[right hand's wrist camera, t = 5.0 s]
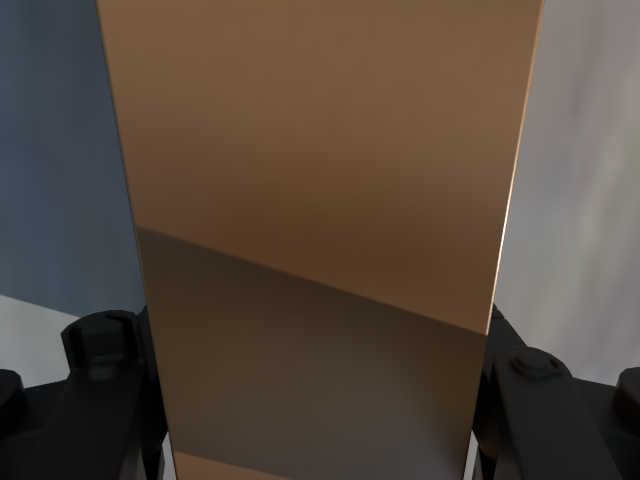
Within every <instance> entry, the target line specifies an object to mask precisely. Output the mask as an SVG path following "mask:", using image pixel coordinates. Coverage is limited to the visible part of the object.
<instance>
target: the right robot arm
mask: <svg viewBox="0 0 640 480" xmlns="http://www.w3.org/2000/svg"><path fill="white" fill-rule="evenodd" d="M60 334H61V338H62V341H63V345H64V349H65V353H66V357H67V360H68V364H69V368H70V374H69V376H68V378H67V379H66V380H62V381H58V382H54V383H49V384H44V385H39V386H34V387H29V388H24V386H23V383H22V380H21V377H20V375H18V374H17V373H16V372H15V371H12V370H6V369H0V480H163V474H164V466H165V460H164V453H163V448H162V443H163V441H164V439H165V436H166V434H167V432H168V427H167V421H166V415H165V410H164V404H163V398H162V392H161V386H160V380H159V374H158V368H157V362H156V357H155V351H154V345H153V339H152V333H151V327H150V321H149V315H148V310H147V304H146V306H145V307H144V308H143V311H142V312H140V313H139V315H138V316H137V315H136V314H134V313H133V312H129V311H124V310H108V311H103V312H98V313H94V314H91V315H88V316H85V317H83V318H80V319H78V320H77V321H75V322H73V323H72V324H70V325H68V326H67V327H66V328H65V329H64V330H63V331H62V332H61V333H60ZM472 430H473V433H474V435H475V437H476V439H477V442H478V448H477V453H476V459H475V464H474V470H473V475H472V480H640V367H635V368H628V369H625V370H624V371H623V372H622V373H621V374H620V376H619V379H618V382H617V385H616V387H615V386H611V385H606V384H601V383H596V382H591V381H586V380H581V379H577V378H574V377H572V375H571V373H570V371H569V370H568V368H567V367H566V366H565V365H564V363H563V362H561V361H560V360H559V359H557V358H556V357H554V356H553V355H551V354H549V353H547V352H544V351H542V350H540V349H537V348H533V347H528V346H527V345H526V344H525V343H524V342H523V340H522V339H521V338H520V336H519V335H518V334H517V333H516V331H515V330H514V329H513V327H512V326H511V325H510V324H509V322H508V321H507V320H506V319H504V316H503V315H502V313H501V312H500V311H499V310H497V307H496V306H495V304H494V303H493V308H492V313H491V319H490V325H489V331H488V337H487V343H486V349H485V355H484V361H483V366H482V372H481V378H480V384H479V390H478V396H477V402H476V408H475V414H474V419H473V425H472Z"/></svg>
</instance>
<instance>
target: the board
mask: <svg viewBox="0 0 640 480" xmlns="http://www.w3.org/2000/svg"><path fill="white" fill-rule="evenodd" d="M544 2H545V0H95V4H96V10H97V15H98V21H99V27H100V33H101V39H102V45H103V51H104V57H105V62H106V68H107V74H108V80H109V86H110V92H111V98H112V104H113V110H114V115H115V121H116V127H117V133H118V139H119V145H120V151H121V157H122V162H123V168H124V174H125V180H126V186H127V192H128V198H129V204H130V210H131V215H132V221H133V227H134V233H135V239H136V245H137V251H138V257H139V262H140V268H141V274H142V280H143V286H144V292H145V298H146V304H147V310H148V315H149V321H150V327H151V333H152V339H153V345H154V351H155V357H156V362H157V368H158V374H159V380H160V386H161V392H162V398H163V404H164V410H165V415H166V421H167V427H168V433H169V439H170V445H171V451H172V457H173V462H174V468H175V474H176V480H463V478H464V472H465V466H466V461H467V455H468V449H469V443H470V437H471V431H472V425H473V419H474V414H475V408H476V402H477V396H478V390H479V384H480V378H481V372H482V366H483V361H484V355H485V349H486V343H487V337H488V331H489V325H490V319H491V313H492V308H493V302H494V296H495V290H496V284H497V278H498V272H499V266H500V260H501V255H502V249H503V243H504V237H505V231H506V225H507V219H508V213H509V208H510V202H511V196H512V190H513V184H514V178H515V172H516V166H517V160H518V155H519V149H520V143H521V137H522V131H523V125H524V119H525V113H526V107H527V102H528V96H529V90H530V84H531V78H532V72H533V66H534V60H535V54H536V49H537V43H538V37H539V31H540V25H541V19H542V13H543V7H544Z"/></svg>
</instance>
